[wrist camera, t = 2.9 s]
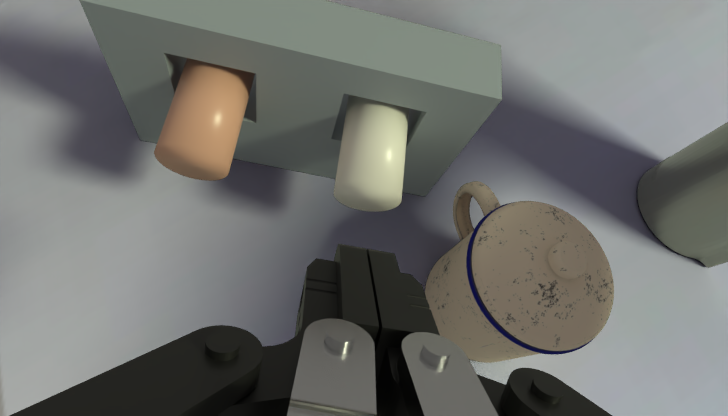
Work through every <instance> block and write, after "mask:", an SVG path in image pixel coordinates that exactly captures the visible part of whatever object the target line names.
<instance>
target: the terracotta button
mask: <svg viewBox="0 0 728 416" xmlns="http://www.w3.org/2000/svg"><path fill="white" fill-rule="evenodd" d="M254 76H255V73H251V72H247V71H243V70H238V69H234V68H229V67H225V66H220V65H216V64H212V63H207V62H203V61H198V60H194V59H189V58H187V60H186V63H185V66H184V68H183V71H182V74H181V77H180V80H179V83H178V85H177V88H176V91H175V94H174V97H173V100H172V103H171V105H170V108H169V111H168V114H167V117H166V120H165V122H164V125H163V128H162V131H161V134H160V137H159V139H158V142H157V145H156V148H155V151H154V154H155V157H156V159H157V160H158V161H159V162H160V163H161V164H162V165H163V166H165V167H166V168H168V169H170V170H172V171H173V172H176V173H178V174H180V175H183V176H186V177H189V178H193V179H199V180H209V181H211V180H220V179H223V178H225V177H226V176H227V175H228V173H229V170H230V166H231V163H232V159H233V155H234V151H235V148H236V144H237V140H238V136H239V133H240V129H241V125H242V121H243V118H244V114H245V110H246V106H247V103H248V99H249V95H250V91H251V88H252V84H253V80H254Z"/></svg>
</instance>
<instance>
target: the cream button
mask: <svg viewBox="0 0 728 416" xmlns="http://www.w3.org/2000/svg"><path fill="white" fill-rule="evenodd" d="M408 118H409V108H406V107H402V106H397V105H393V104H388V103H384V102H380V101H375V100H371V99H366V98H362V97H358V96H353V95H349V96H348V102H347V109H346V115H345V122H344V128H343V135H342V141H341V147H340V154H339V160H338V167H337V173H336V180H335V186H334V197H335V198H336V199H337V200H338V201H339V202H340V203H342V204H343V205H345V206H348V207H350V208H353V209H357V210H361V211H369V212H380V211H387V210H391V209H393V208H395V207H397V206H398V205H399V204H400V203H401V200H402V189H403V177H404V165H405V153H406V142H407V130H408Z"/></svg>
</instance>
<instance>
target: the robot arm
mask: <svg viewBox="0 0 728 416" xmlns="http://www.w3.org/2000/svg"><path fill="white" fill-rule="evenodd" d="M638 203H639V208H640V210H641V213H642V216H643V218H644V220H645V221H646V223H647V225H648V227H649V228H650V229H651V231H652V232H653V233H654V234H655V236H656V237H657V238H658V239H659V240H660V241H661V242H663V243H664V244H665V245H666V246H667V247H669V248H670V249H672V250H673V251H675V252H677V253H679V254H681V255H684V256H687V257H691V258H694V259H697V260H699V261H701V262H702V263H703V264H704V265H705V266H706V267H708V268H710V267H713V266H716V265H719V264H723V263H726V262H728V122H727V123H725V124H723V125H722V126H720V127H719V128H717V129H715V130H714V131H712V132H710V133H709V134H707V135H705V136H704V137H702V138H700V139H699V140H697V141H695V142H694V143H692V144H690V145H689V146H687V147H686V148H684V149H682V150H681V151H679V152H677V153H676V154H674V155H672V156H671V157H668V158H666V159H665V160H663V161H662V162H660V163H659V164H658V165H656V166H654V167H653V168H651V169H649V170H648V171H647V172H646V173H645V174H644V175H643V176H642V178H641V180H640V182H639V186H638ZM10 416H612V415H610V414H609V413H608V412H606V411H605V410H603V409H602V408H600V407H599V406H597V405H596V404H594V403H593V402H591V401H590V400H588V399H587V398H586V397H584V396H583V395H581V394H580V393H578V392H577V391H575V390H574V389H572V388H571V387H569V386H568V385H566V384H565V383H563V382H562V381H560V380H559V379H557V378H556V377H554V376H552V375H550V374H548V373H545V372H543V371H540V370H536V369H532V368H519V369H516V370H514V371H513V372H512V373H511V374H510V376H509V379H508V381H507V384H506V385H504V384H502V383H499V382H496V381H493V380H491V379H488V378H485V377H482V376H480V375H477V374H476V372H475V370H474V368H473V366H472V365H471V363H470V361H469V359H468V357H467V355H466V354H465V352H464V351H463V350H462V349H461V348H460V347H459V346H458V345H456V344H455V343H454V342H452V341H450V340H449V339H447V338H445V337H442V336H440V334H439V331H438V328H437V326H436V323H435V320H434V317H433V315H432V312H431V310H430V306H429V304H428V301H427V300H426V295H425V293H424V290H423V287H422V285H421V284H420V283H419V282H418V281H417V280H416V279H415V278H414V277H413V276H412V275H411V274H405V273H400V271H399V267H398V264H397V260H396V257H395V254H394V253H388V252H382V251H376V250H371V249H367V250H366V249H365V248H360V247H354V246H348V245H343V244H338V246H337V250H336V254H335V258H334V261H328V260H322V259H315V260H314V261H313V262H312V263H311V264H310V265H309V266H308V267H307V272H306V276H305V281H304V286H303V291H302V296H301V301H300V306H299V311H298V316H297V323H296V332H295V337H294V338H293V339H291V340H290V341H288V342H285V343H283V344H279V345H275V346H267V347H262V345H261V343H260V341H259V340H258V339H257V338H256V337H255V336H254V335H253V334H251V333H249V332H248V331H246V330H243V329H241V328H237V327H232V326H223V325H220V326H209V327H205V328H202V329H199V330H196V331H194V332H192V333H190V334H188V335H185V336H183V337H181V338H179V339H177V340H174V341H172V342H170V343H168V344H166V345H163V346H161V347H159V348H157V349H155V350H152V351H150V352H148V353H146V354H144V355H142V356H139V357H137V358H135V359H133V360H131V361H128V362H126V363H124V364H122V365H120V366H117V367H115V368H113V369H111V370H109V371H106V372H104V373H102V374H100V375H98V376H96V377H93V378H91V379H89V380H87V381H85V382H82V383H80V384H78V385H76V386H74V387H71V388H69V389H67V390H65V391H63V392H60V393H58V394H56V395H54V396H52V397H50V398H47V399H45V400H43V401H41V402H39V403H36V404H34V405H32V406H30V407H28V408H25V409H23V410H21V411H19V412H17V413H14V414H12V415H10Z"/></svg>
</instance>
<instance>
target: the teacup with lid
mask: <svg viewBox="0 0 728 416" xmlns="http://www.w3.org/2000/svg"><path fill="white" fill-rule="evenodd" d="M472 196H473V197H474V198H475V199H476V200H477V202H478V204H479V205H480V207H481V209H482V211H483V214H484V216H485V217H484V218H483V219H482V220H481V221H480V222H479V223H478V225H477V226H476V228H475V229H474V228H473V226H472V223H471V219H470V213H469V207H470V201H471V198H472ZM453 218H454V223H455V227H456V230H457V233H458V235H459V238H460V240H461V241H460V242H459V243H458V244H457V245H456V246H454V247H453V248H452V249H451V250H449V251H448V252H447V253H446V254H445V255H443V256H442V257H441V258H440V259H439V260H438V261H437V262H436V264H435V265H434V266H433V268H432V270H431V272H430V274H429V276H428V279H427V283H426V288H425V295H426V300H427V301H428V304H429V306H430V310H431V312H432V315H433V317H434V320H435V323H436V326H437V328H438V331H439V334H440V336H442V337H445V338H447V339H449V340H450V341H452V342H454V343H455V344H456V345H458V346H459V347H460V348H461V349H462V350H463V351H464V352H465V354H466V355H467V357H468V359H470V360H473V361H477V362H485V363H491V362H498V361H504V360H509V359H514V358H519V357H524V356H529V355H535V354H540V353H542V354H564V353H569V352H572V351H575V350H578V349H580V348H582V347H583V346H585V345H587V344H588V343H589V342H591V341H592V340H593V339H594V338H595V337H596V336H597V335H598V334H599V332H600V331H601V330H602V329H603V327H604V326H605V324H606V322H607V320H608V318H609V315H610V312H611V309H612V305H613V298H614V285H613V277H612V273H611V269H610V266H609V263H608V260H607V258H606V255H605V253H604V251H603V249H602V248H601V246H600V244H599V243H598V241H597V240H596V239H595V237H594V236H593V235H592V233H591V232H590V231H589V230H588V229H587V228H586V227H585V226H584V225H583V224H582V223H581V222H580V221H578V220H577V219H576V218H575V217H573V216H572V215H570V214H569V213H567V212H565V211H563V210H561V209H559V208H557V207H555V206H552V205H549V204H545V203H541V202H534V201H520V202H513V203H509V204H505V205H502V206H500V204H499V202H498V200H497V198H496V196H495V195H494V193H493V192H492V191H491V189H490V188H489V187H488V186H486V185H485V184H483V183H481V182H478V181H474V182H470V183H466V184H464V185H463V186H462V187H460V189H459V190H458V192H457V194H456V196H455V199H454V204H453Z"/></svg>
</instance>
